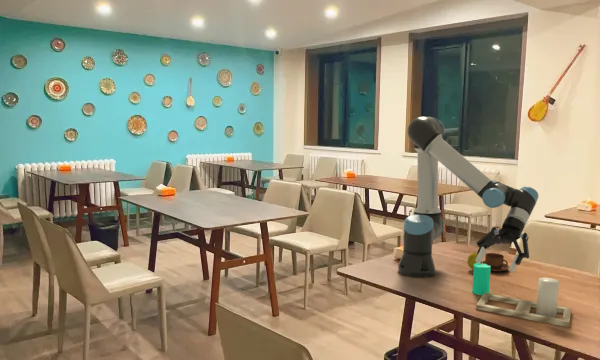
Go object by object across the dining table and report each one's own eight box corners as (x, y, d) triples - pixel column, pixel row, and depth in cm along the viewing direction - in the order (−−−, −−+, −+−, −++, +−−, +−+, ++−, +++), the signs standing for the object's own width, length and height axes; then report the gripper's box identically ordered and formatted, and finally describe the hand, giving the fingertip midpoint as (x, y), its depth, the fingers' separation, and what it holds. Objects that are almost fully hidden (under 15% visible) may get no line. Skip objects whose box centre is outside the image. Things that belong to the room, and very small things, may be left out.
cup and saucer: (511, 268, 220) (512, 254, 219) (505, 275, 210) (506, 261, 209) (482, 263, 226) (483, 250, 226) (476, 270, 216) (476, 256, 216)
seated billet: (535, 316, 167) (537, 281, 165) (537, 310, 172) (539, 276, 170) (555, 320, 164) (558, 284, 162) (556, 314, 169) (559, 279, 167)
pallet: (476, 309, 172) (476, 304, 172) (484, 296, 184) (484, 292, 184) (568, 327, 158) (569, 322, 158) (570, 312, 170) (571, 308, 170)
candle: (490, 295, 185) (492, 264, 184) (473, 294, 186) (475, 262, 185) (487, 290, 191) (489, 259, 189) (471, 289, 192) (472, 258, 191)
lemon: (474, 273, 212) (475, 254, 211) (464, 269, 217) (465, 251, 216) (483, 271, 215) (484, 253, 214) (473, 267, 219) (474, 249, 218)
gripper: (550, 233, 190) (529, 280, 182) (489, 222, 209) (467, 264, 201) (545, 221, 186) (523, 268, 178) (482, 211, 205) (460, 253, 197)
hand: (493, 266), depth 190 cm, fingers open, 13 cm apart
